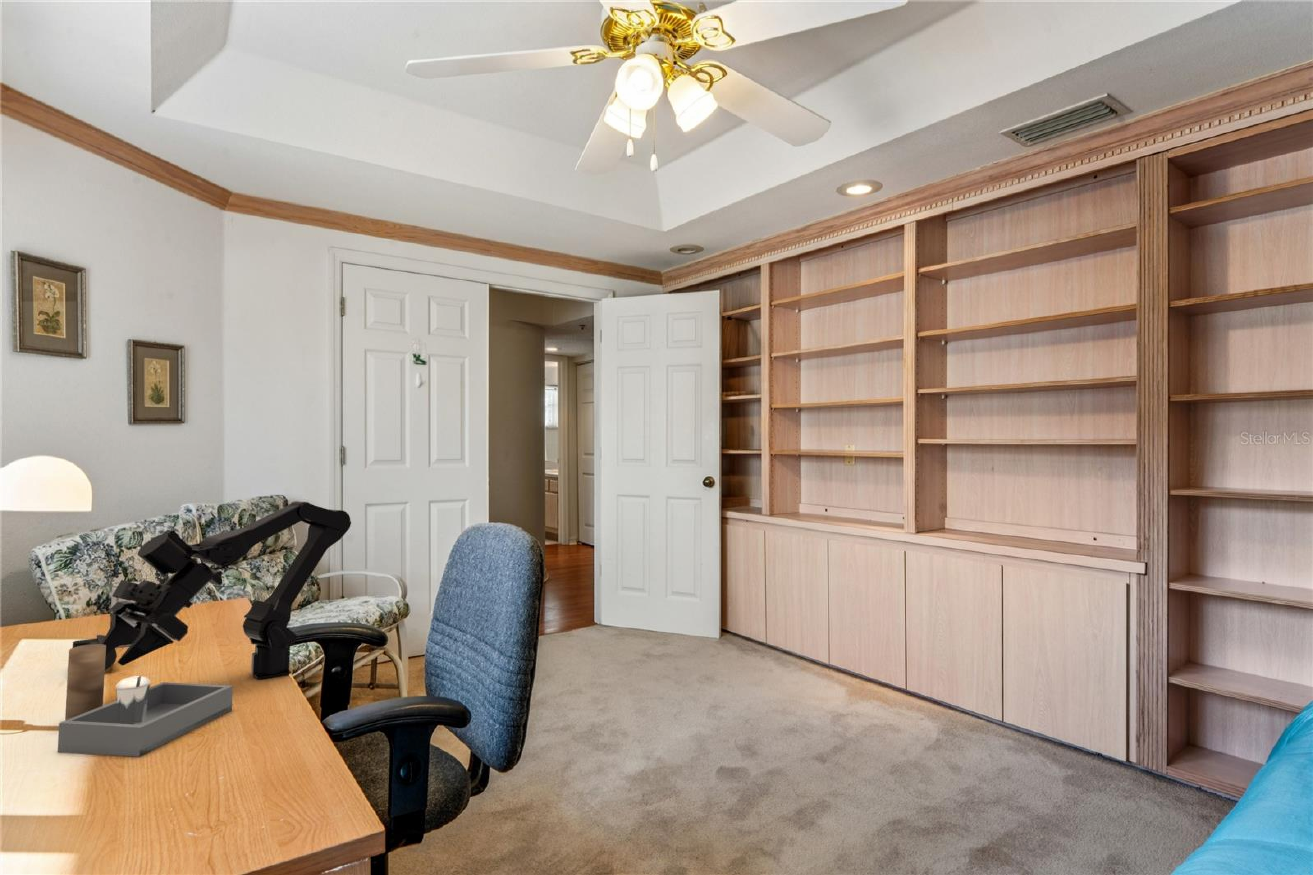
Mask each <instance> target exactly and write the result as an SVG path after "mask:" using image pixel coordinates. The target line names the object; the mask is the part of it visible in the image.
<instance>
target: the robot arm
mask: <svg viewBox="0 0 1313 875" xmlns="http://www.w3.org/2000/svg"><path fill="white" fill-rule="evenodd" d="M300 522H302V523H304V524H307V525H308V529H307V537H306V538H307V539H306V541H305V543H304V544H303V545H302V547H301V549H300V551H298V553H297V555H296V556H295V558H294V560H293V561H292V563H291V564H290V565H289V567H288V569H287V570H286V572H285V573H284V575H283V576H282V578H281V579H280V581H279V582H278V584H277V585H276V587H275V588H274V590H273V592H272V593H271V594H270V596H269V597H268V598H266V599H264V600H263V601H262V600H259V599H255V601H254V602H253V604H252V605H251V607H250V609H249V611H248V612H247V613H246V614H245V615H243V618H245V619H244V621H243V623H242V629H243V634H244V635H245V636H246V637H247V638H248V639H249V641H250V644H251V645H254V652H252V653H251V666H250V667H251V668H250V671H251V673H252V675H254V678H255V679H256V680H261V679H268V678H273V677H274V678H275V677H279V676H287V675H290V674H292V671H291V669H290V659H291V658H290V655H291V654H290V653H291V647H293V646H294V645H295V644H296V641H297V638H298V635H297V634H296V633H295V632H293V631H292V630H291V629H290V628H289V627H288V625H289V622H290V620H291V617H292V615H291V614H292V607H293V604H294V603H295V601H296V600H297V598H298V596H299V595H300V593H301V591H302V590H303V588H304V587H305V585H306V583H307V582H308V580H309V578H310V577H311V575H312V574H313V572H314V571H315V569H316V568H317V567H318V565H319V563H320V561H321V560H322V558H323V556H324V555H325V553H326V552H327V550H328V549H329V548H330V547H332V546H333V545H335V544H337V542H338V541H340V540H341V539H342V538H343V537H344V536H345V535H346V533H347V532H348V530H349V529H350V528H351V525H352V522H351V516H350V515H349V513H348V512H347V511H345V510H342V509H340V510H339V509H330V508H329V509H328V508H324V507H321V506H318V505H314V504H312V503H310V502H308V501H297V500H296V501H292V502H291V503H289V504H288V505H287V506H284V507H282V508H280V509H278V510H276V511H273V512H272V513H270V514H268V515H266V516H264V517H262V518H260V519H257V520H256V521H254V522H251V523H250V524H247V525H245V526H243V527H241V528H238V529H233V530H229V531H224V532H220V533H216V534H214V535H211V536H207V537H205V538H203V540H201V541H200V542H199V543H195V544H194V543H193V544H188V543H187V542H186V541H184V540H183V539H182V538H181V537H180V534H178V533H177V532H176V531H175V530H174V529H173V530H172V529H167V530H165V531H164V532H163V533H162V534H159V535H157V536H155V537H153V538H151V539H150V540H147V541H146V542H145V543H144V544H143V545H142V546H141V547H140V549H139V550H138V551H137V556H138V557H139V558H141V559H142V560H143V561H144V562H146V563H147V564H148V565H149V566H150V567H152V568H153V569H154V570H155V571H157V572H158V573H159V574H160V575H168V574H169V575H170V574H171V576H170V577H169V578H168V579H167V580H166V581H165V582H164V583H159V582H158V583H156V582H153V581H149V580H147V579H146V580H142V581H140V582H141V583H139V584H137V583H133V582H134V581H127V580H123V579H121V580H120V581H119V582H118V583H119V585H118V586H117V588H116V590H115V592H114V593H113V595H112V594H111V597H112V596H113V597H116V598H121V599H124V600H128V601H131V600H132V601H136V602H135V603H132V602H128V601H120V602H117V603H116V604H115V605H114V606H113V607H112V608H111V607H110V608H109V612H110V613H109V617H111V627H110V626H109V630H108V631H107V633H106V634H105V635H104V636H105V638H104V639H103V641H102V642H101V644H104V645H106V654H107V653H109V652H110V651H112V650H114V649H115V650H116V649H117V648H119V647H118V646H120V645H122V644H123V643H125V642H127V641H128V640H130V639H132V638H133V637H135V636H136V635H138V634H140V635H139V636H138V637H137V638H136V640H135V641H134V642H133V643H132V644H131V646H128V648H127V649H126V650H125V651H124V653H123V654H122V655H121V657H120V658H118V660H117V664H119V665H120V666H125V665H127V664H129V663H131V662H134V661H136V660H137V659H140V658H141V657H144V656H145V655H148V654H150V653H152V652H154V651H156V650H159V649H161V648H163V647H165V646H168V645H173V643H175V641H176V642H181V640H183V638H184V637H186V635H187V634H188V630H189V626H188V624H186V623H185V622H184V621H182V620H181V619H180V618H178V617H177V615H178V614H180V612H181V611H182V610H183V609H184V608H187V609H189V608H190V607H192V606H193V603H192V600H193V599H194V598H195V597H196V596H197V595H198V594H199V593H200V592H201V591H202V590H203V589H204V588H205V587H206V586H207V585H208V584H209V583H210V584H214V585H217V586H222V585H223V579H222V578H223V577H222V574H223V571H222V570H213V569H212V568H211V567H210V566H209V565H213V566H219V567H229V566H232V565H233V564H235V563H237V562H238V561H240V559H242V558H243V557H245V556H246V555H247V554H248V553H249V552H250V551H251V550H252V548H253V547H255V546H256V545H257V544H259V543H261V542H263V541H265V540H268V539H269V538H272V537H273V536H275V535H277V534H279V533H281V532H282V531H284V530H287V529H289V528H290V527H292V526H295V525H296V524H298V523H300ZM194 558H195V559H200V561H201V562H199V563H198V561H196V560H194ZM111 612H112V613H111ZM137 629H139V630H141V632H140V631H139V630H137Z"/></svg>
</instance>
